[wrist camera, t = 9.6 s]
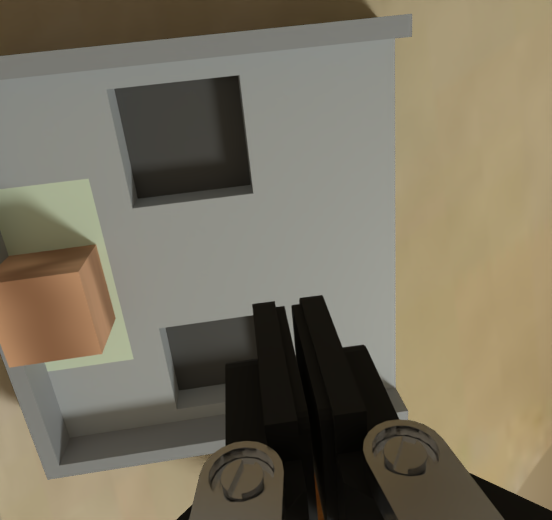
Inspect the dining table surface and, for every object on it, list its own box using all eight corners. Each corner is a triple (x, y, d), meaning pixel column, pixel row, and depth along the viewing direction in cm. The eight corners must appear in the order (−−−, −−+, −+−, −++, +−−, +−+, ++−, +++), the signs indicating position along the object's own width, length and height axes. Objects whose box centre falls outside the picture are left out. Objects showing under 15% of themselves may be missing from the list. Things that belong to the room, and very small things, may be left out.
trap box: (380, 20, 28) (412, 13, 24) (384, 378, 38) (407, 422, 33) (-52, 65, 27) (-108, 67, 22) (68, 426, 36) (47, 479, 32)
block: (96, 244, 29) (78, 271, 25) (115, 318, 31) (102, 354, 27) (8, 255, 29) (-23, 285, 25) (34, 330, 30) (9, 367, 27)
